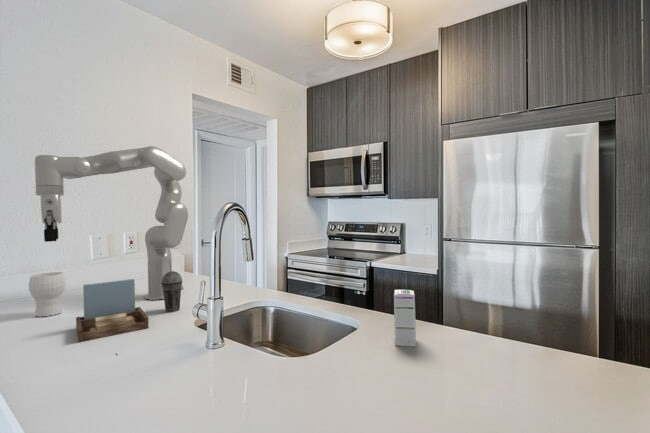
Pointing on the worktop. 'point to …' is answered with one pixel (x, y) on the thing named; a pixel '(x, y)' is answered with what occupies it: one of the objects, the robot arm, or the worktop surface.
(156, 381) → the worktop surface
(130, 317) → the offcut middle
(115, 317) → the offcut top
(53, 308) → the cup
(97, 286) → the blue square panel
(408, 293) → the syrup box
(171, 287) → the beverage cup
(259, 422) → the worktop surface
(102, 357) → the worktop surface
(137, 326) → the rack
